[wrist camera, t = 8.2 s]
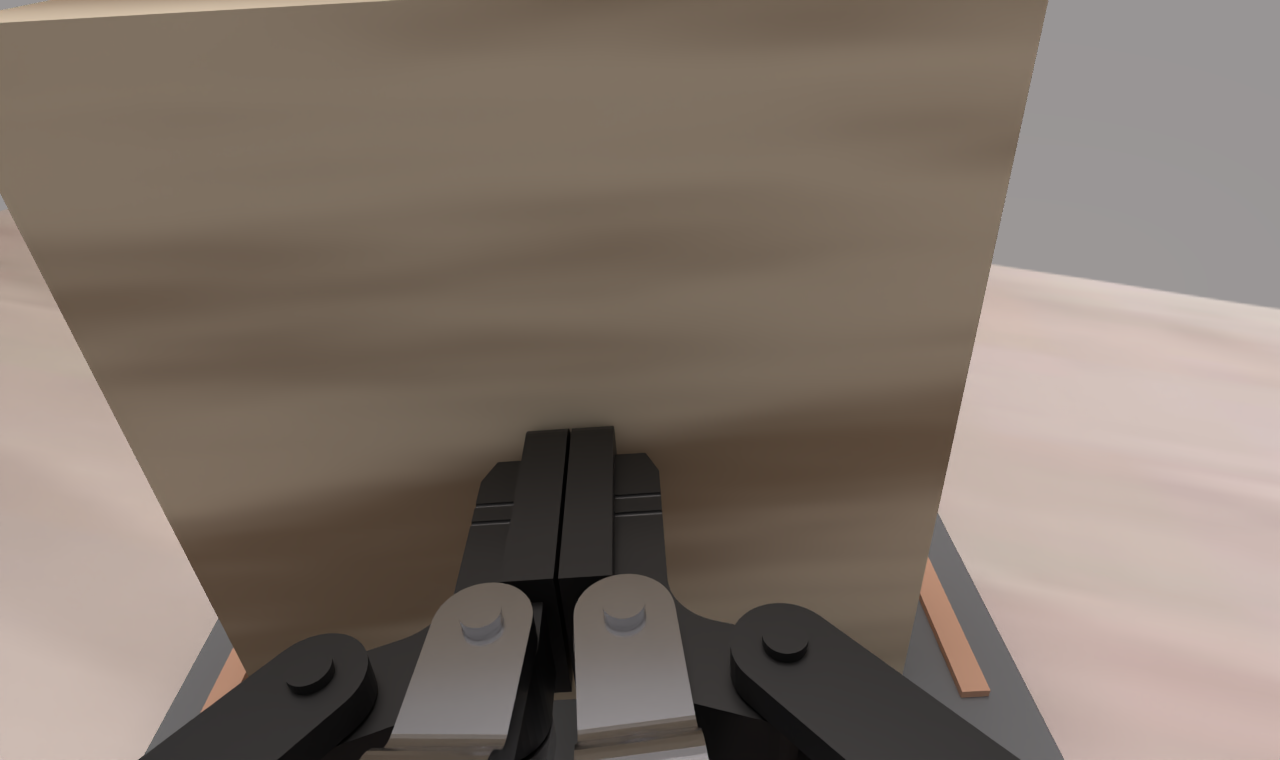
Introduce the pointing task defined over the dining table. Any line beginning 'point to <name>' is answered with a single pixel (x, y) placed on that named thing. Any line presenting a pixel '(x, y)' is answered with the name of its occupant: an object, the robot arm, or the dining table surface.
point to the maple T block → (522, 276)
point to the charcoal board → (936, 662)
